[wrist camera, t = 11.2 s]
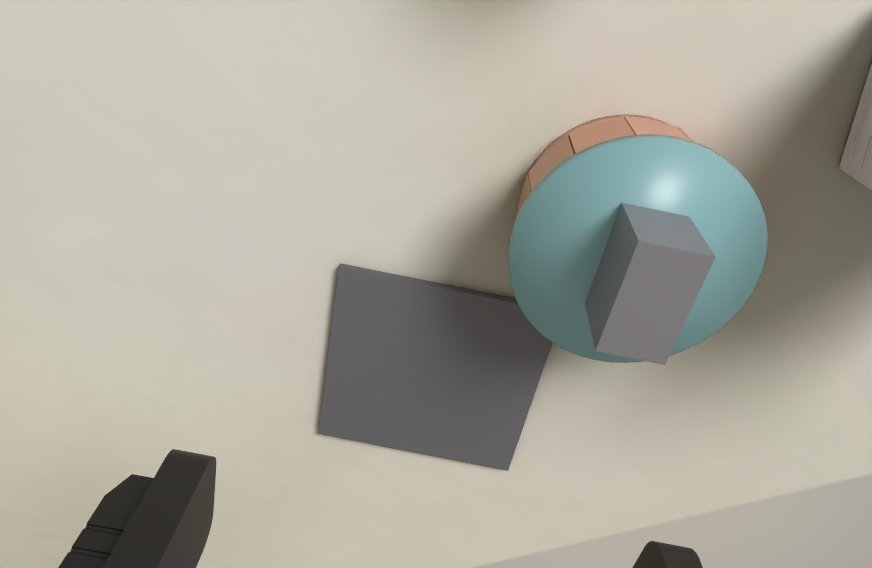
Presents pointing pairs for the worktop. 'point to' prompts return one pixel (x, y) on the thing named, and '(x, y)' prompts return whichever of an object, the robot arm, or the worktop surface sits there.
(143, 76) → the worktop surface
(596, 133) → the bowl
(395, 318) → the mat
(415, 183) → the worktop surface
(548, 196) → the lid
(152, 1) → the worktop surface
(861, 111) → the supplement box
